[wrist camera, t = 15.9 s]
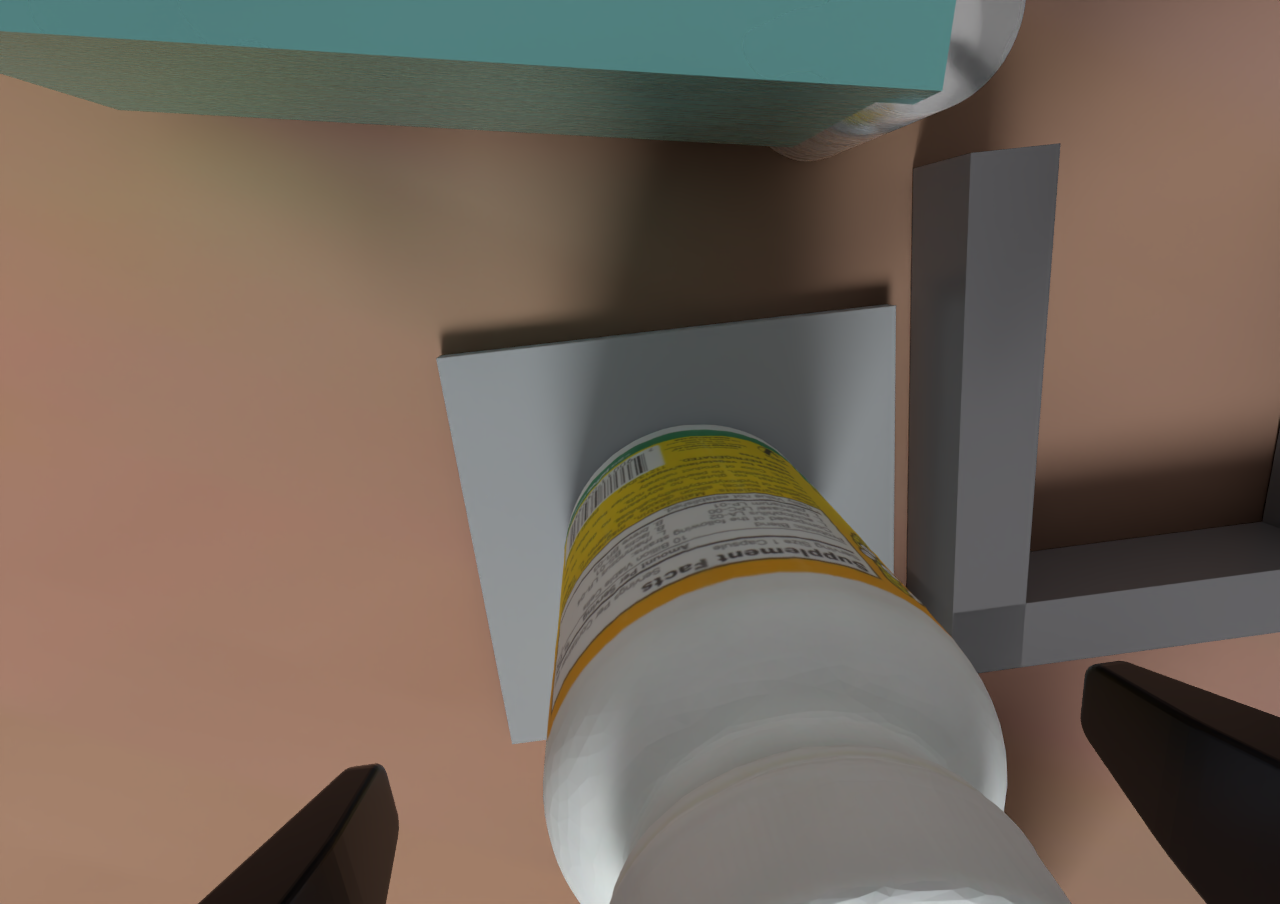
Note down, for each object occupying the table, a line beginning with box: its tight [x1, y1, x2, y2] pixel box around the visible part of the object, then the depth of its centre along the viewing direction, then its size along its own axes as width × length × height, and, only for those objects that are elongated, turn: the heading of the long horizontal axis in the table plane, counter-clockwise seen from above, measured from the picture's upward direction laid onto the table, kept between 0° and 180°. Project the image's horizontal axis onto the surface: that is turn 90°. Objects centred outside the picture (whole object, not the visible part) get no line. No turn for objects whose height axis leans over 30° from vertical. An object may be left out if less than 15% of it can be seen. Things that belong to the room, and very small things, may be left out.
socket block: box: [907, 143, 1280, 673], centre depth 13 cm, size 10×10×2 cm
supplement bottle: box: [543, 424, 1071, 904], centre depth 9 cm, size 5×5×10 cm
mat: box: [436, 304, 896, 744], centre depth 14 cm, size 9×9×1 cm
